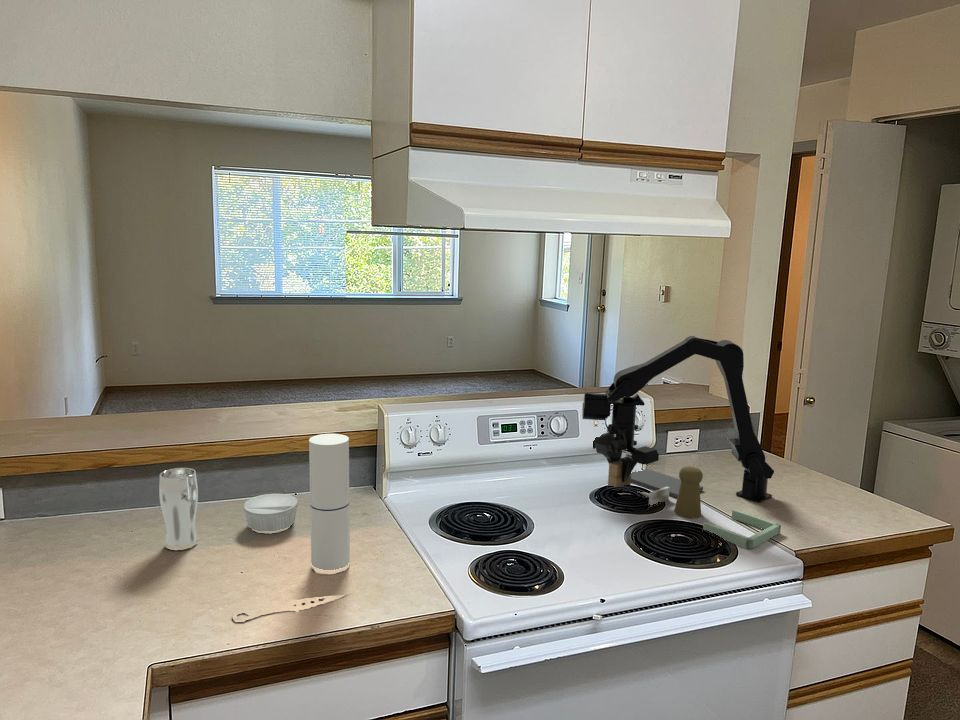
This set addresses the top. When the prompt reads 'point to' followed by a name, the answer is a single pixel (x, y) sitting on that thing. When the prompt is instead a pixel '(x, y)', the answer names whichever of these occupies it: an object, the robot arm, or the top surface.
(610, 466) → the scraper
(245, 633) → the top surface
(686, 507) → the olive pawn
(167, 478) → the beer glass
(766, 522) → the corral
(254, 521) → the ramekin
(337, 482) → the cylindrical container
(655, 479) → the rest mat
